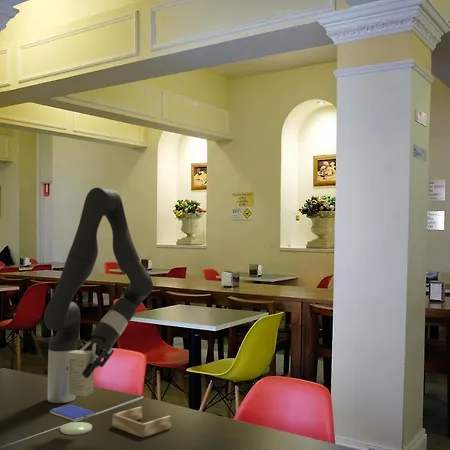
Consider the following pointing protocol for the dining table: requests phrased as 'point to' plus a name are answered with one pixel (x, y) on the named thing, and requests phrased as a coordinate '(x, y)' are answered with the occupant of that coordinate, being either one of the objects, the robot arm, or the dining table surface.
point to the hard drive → (72, 412)
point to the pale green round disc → (76, 428)
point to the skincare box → (79, 373)
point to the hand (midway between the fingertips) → (76, 373)
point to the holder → (129, 424)
